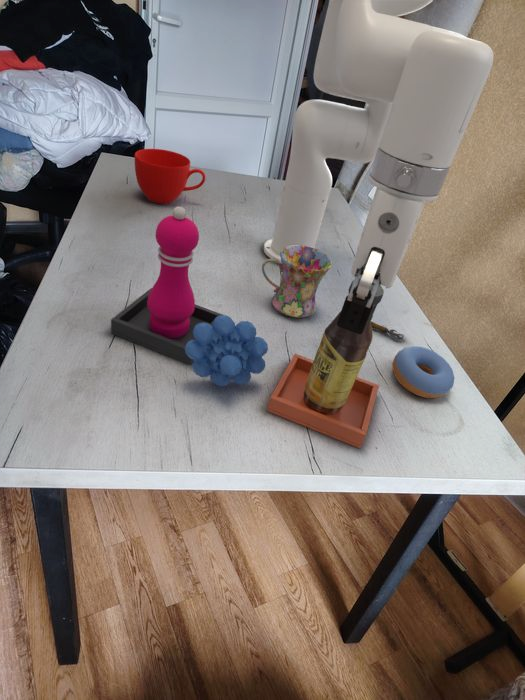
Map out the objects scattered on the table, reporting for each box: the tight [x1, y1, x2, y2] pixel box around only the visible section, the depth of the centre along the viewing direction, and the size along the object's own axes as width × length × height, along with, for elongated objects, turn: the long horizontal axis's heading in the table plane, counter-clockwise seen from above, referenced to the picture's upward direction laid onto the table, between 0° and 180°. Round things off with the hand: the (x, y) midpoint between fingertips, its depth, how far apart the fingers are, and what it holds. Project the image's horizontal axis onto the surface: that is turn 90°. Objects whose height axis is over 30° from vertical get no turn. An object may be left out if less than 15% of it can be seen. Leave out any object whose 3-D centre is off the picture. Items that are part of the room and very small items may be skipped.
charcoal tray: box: [110, 287, 224, 365], centre depth 76 cm, size 12×14×3 cm
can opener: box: [370, 320, 406, 342], centre depth 88 cm, size 9×2×1 cm, turn 60°
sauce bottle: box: [304, 279, 385, 414], centre depth 63 cm, size 7×6×20 cm
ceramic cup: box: [134, 148, 206, 205], centre depth 116 cm, size 13×17×10 cm
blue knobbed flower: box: [185, 314, 269, 388], centre depth 65 cm, size 12×7×12 cm, turn 102°
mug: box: [261, 245, 333, 319], centre depth 86 cm, size 12×9×11 cm
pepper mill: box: [147, 206, 200, 338], centre depth 71 cm, size 7×7×20 cm
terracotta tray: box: [266, 353, 380, 449], centre depth 69 cm, size 12×14×3 cm
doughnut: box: [392, 345, 455, 399], centre depth 77 cm, size 10×10×5 cm
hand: (356, 312), depth 60 cm, fingers open, 8 cm apart
